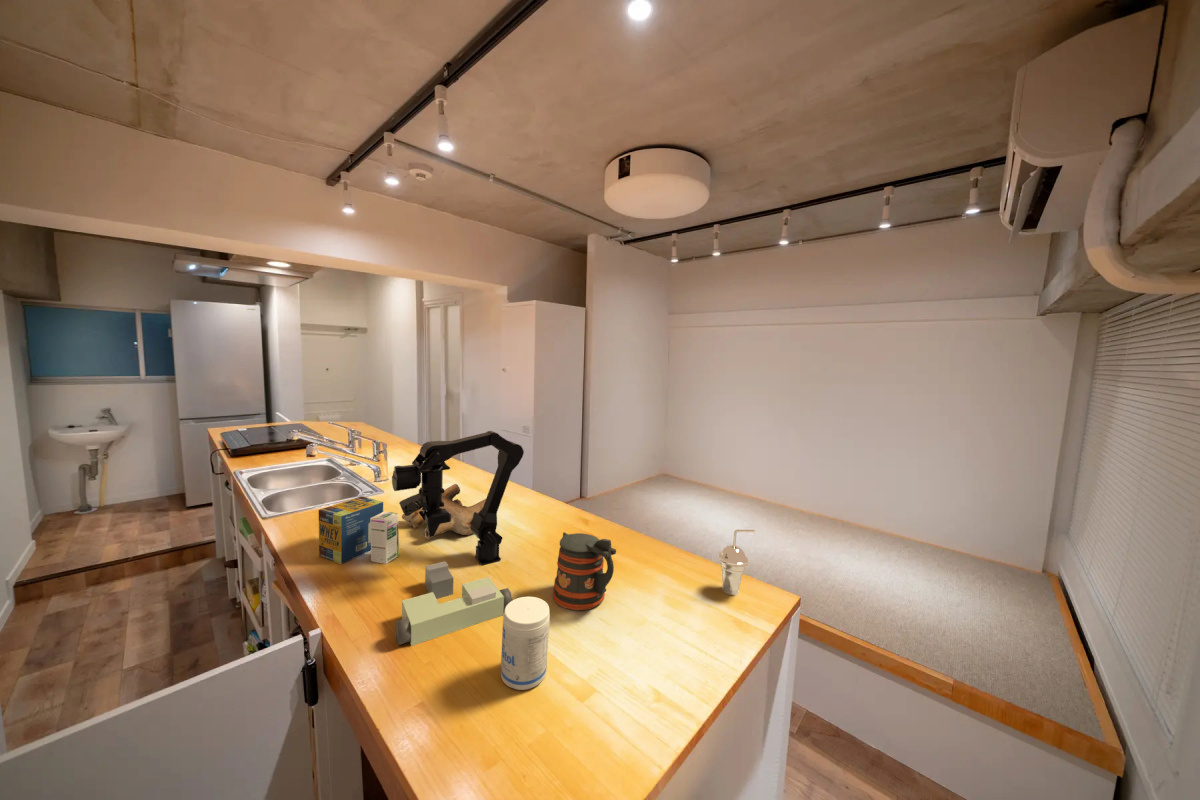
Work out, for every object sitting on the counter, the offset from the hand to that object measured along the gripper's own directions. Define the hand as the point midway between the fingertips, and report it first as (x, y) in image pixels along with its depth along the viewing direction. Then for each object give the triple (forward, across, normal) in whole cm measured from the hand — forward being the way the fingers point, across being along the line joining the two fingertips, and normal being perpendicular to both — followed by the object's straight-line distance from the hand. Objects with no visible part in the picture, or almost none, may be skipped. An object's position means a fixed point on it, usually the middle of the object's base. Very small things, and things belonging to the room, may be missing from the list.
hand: (431, 536), depth 121 cm
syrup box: (+12, -17, -10) cm, 23 cm away
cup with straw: (+12, +53, +73) cm, 91 cm away
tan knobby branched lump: (+12, -32, +13) cm, 37 cm away
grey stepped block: (+12, +9, 0) cm, 15 cm away
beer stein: (+12, +34, +33) cm, 49 cm away
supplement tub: (+12, +50, +7) cm, 52 cm away
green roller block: (+12, +24, 0) cm, 27 cm away
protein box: (+12, -28, -18) cm, 35 cm away
